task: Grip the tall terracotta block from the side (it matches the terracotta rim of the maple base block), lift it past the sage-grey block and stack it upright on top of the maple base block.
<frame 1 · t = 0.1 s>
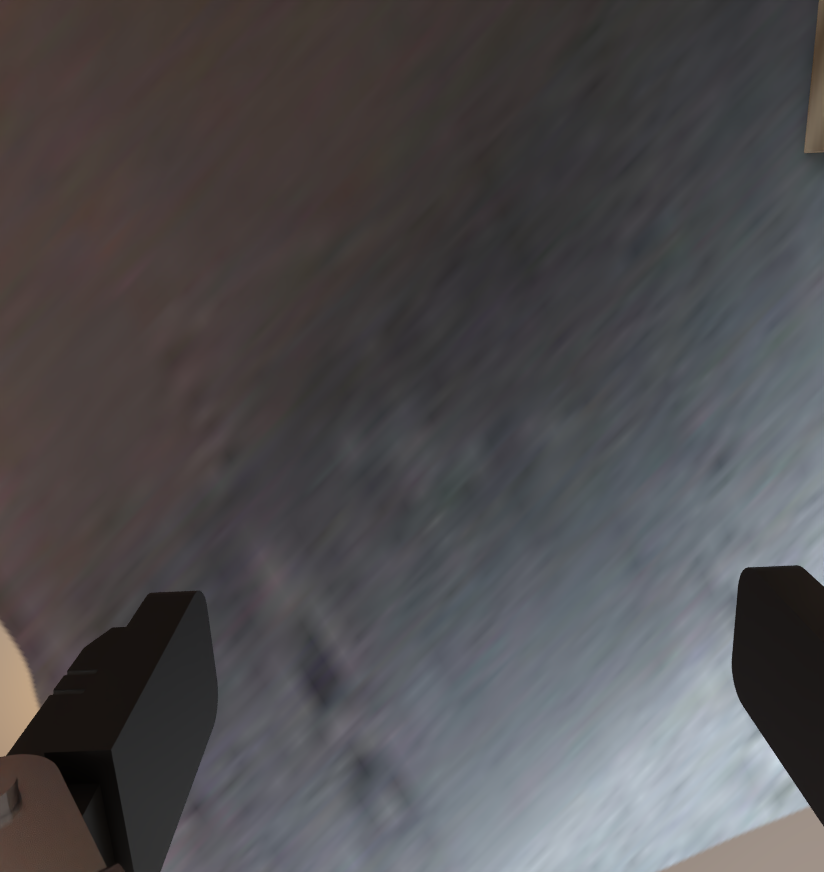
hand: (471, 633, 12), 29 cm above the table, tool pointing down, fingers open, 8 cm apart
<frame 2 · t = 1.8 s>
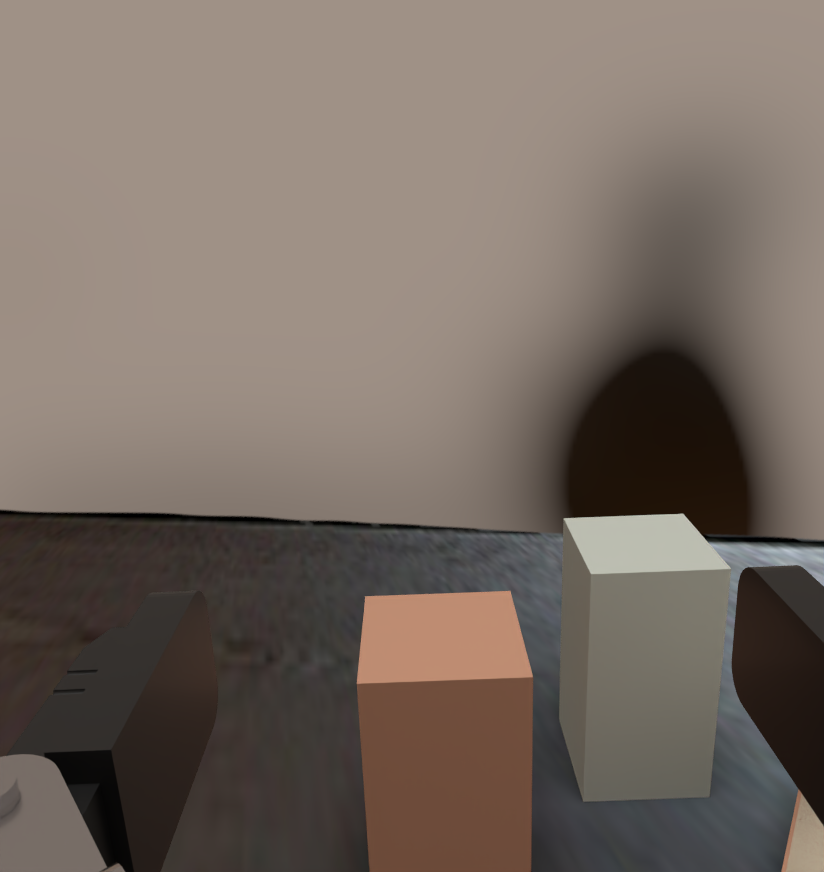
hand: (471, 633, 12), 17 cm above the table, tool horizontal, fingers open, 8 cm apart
sage block: (628, 755, 33), on the table
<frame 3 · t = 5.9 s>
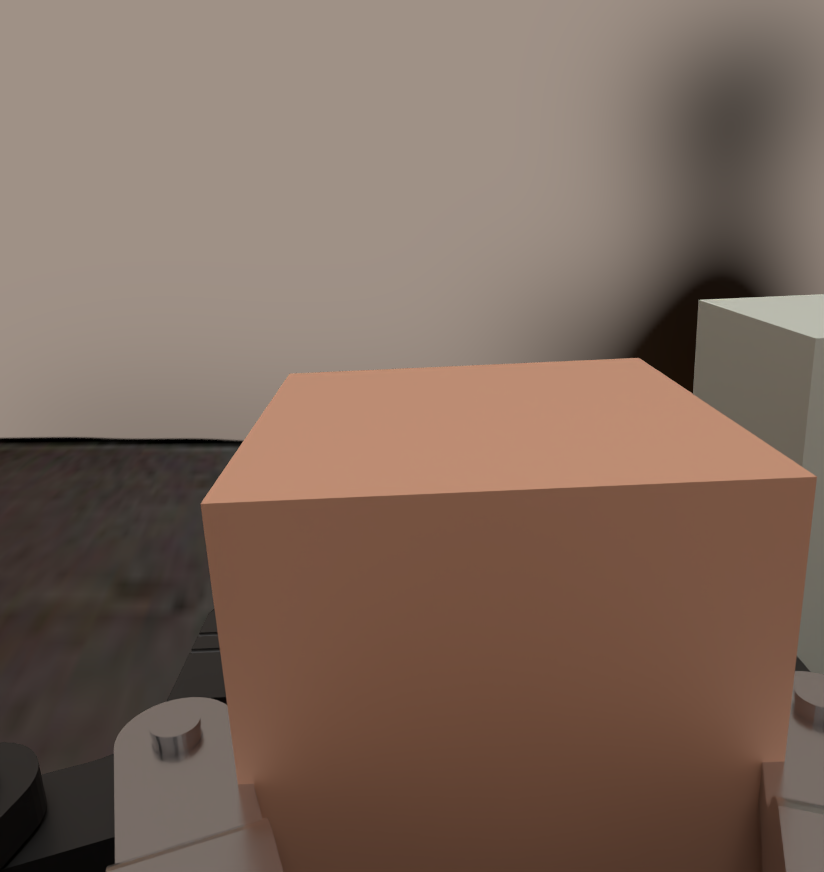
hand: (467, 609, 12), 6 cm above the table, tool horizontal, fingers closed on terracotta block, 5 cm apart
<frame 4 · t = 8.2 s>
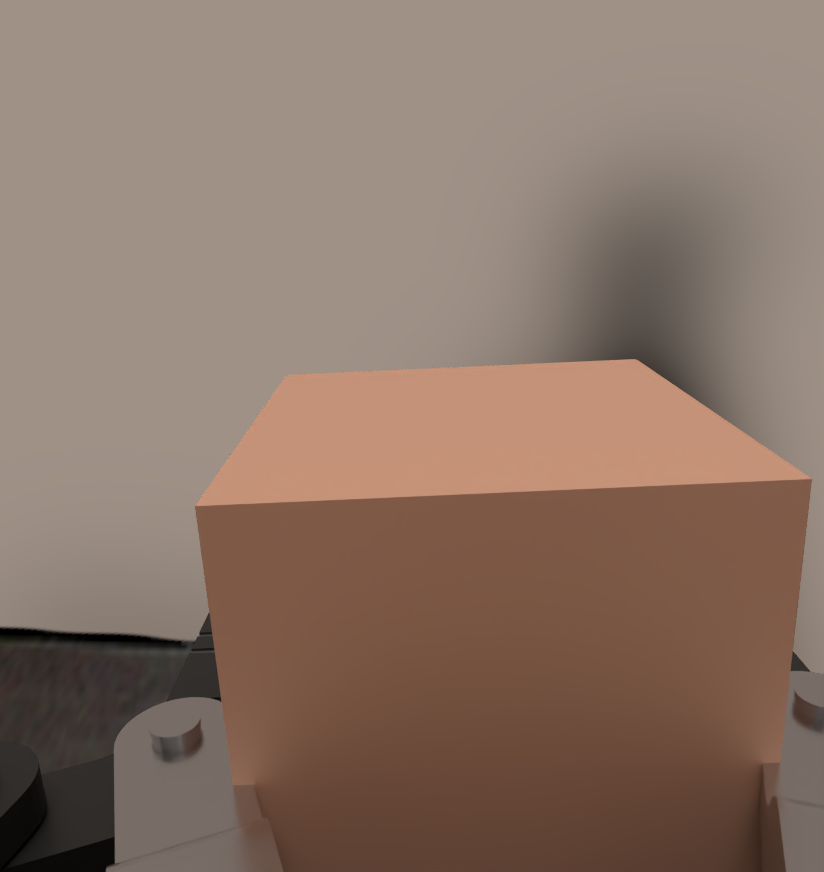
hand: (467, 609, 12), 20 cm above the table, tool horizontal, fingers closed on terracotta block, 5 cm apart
when the fingers open (12 cm above the table, at t = 10.6 s): terracotta block drops 1 cm, resting on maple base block.
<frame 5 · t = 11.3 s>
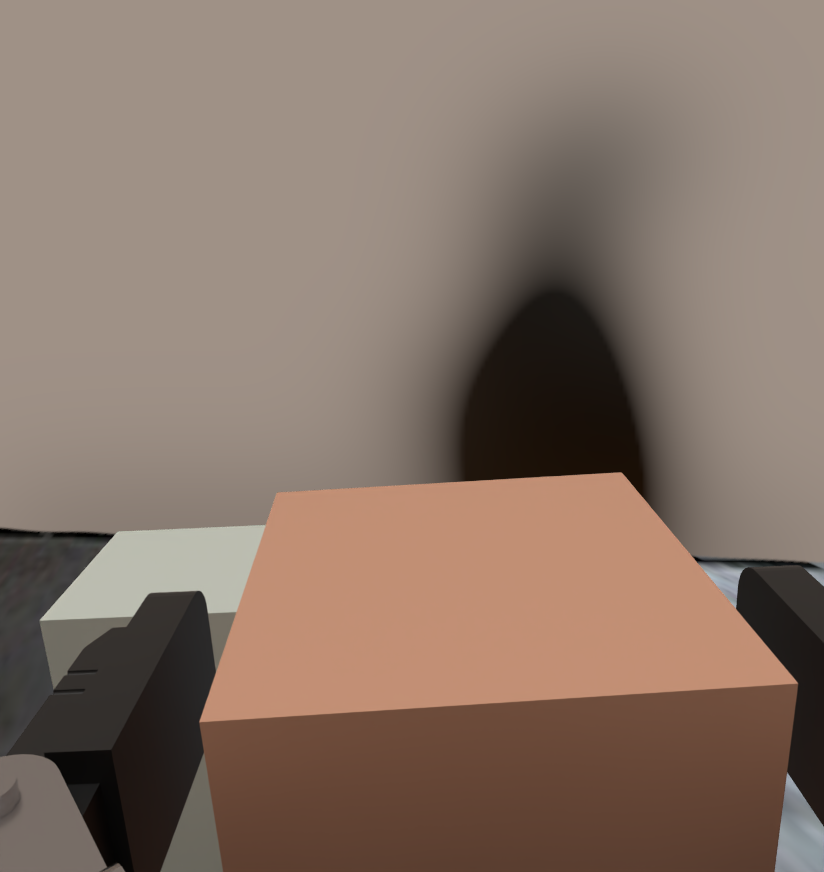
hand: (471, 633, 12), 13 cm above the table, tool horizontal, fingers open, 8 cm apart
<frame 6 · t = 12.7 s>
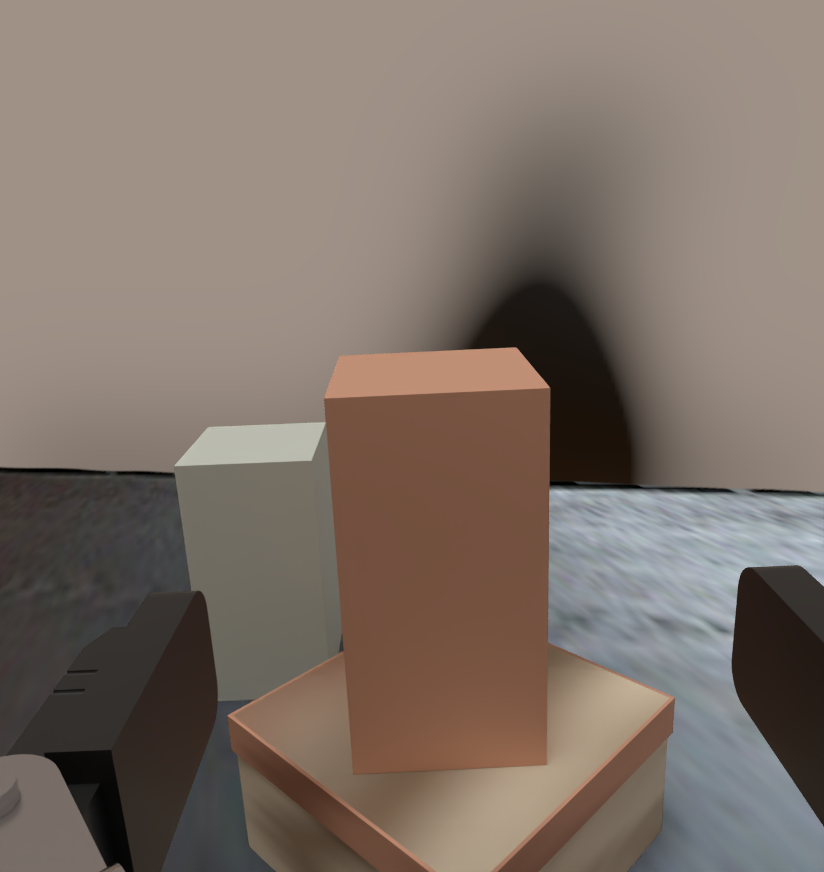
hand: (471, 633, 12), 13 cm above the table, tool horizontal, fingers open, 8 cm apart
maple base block: (455, 844, 24), on the table, touching terracotta block
sage block: (279, 663, 33), on the table
terracotta block: (444, 709, 22), point 5 cm above the table, touching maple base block
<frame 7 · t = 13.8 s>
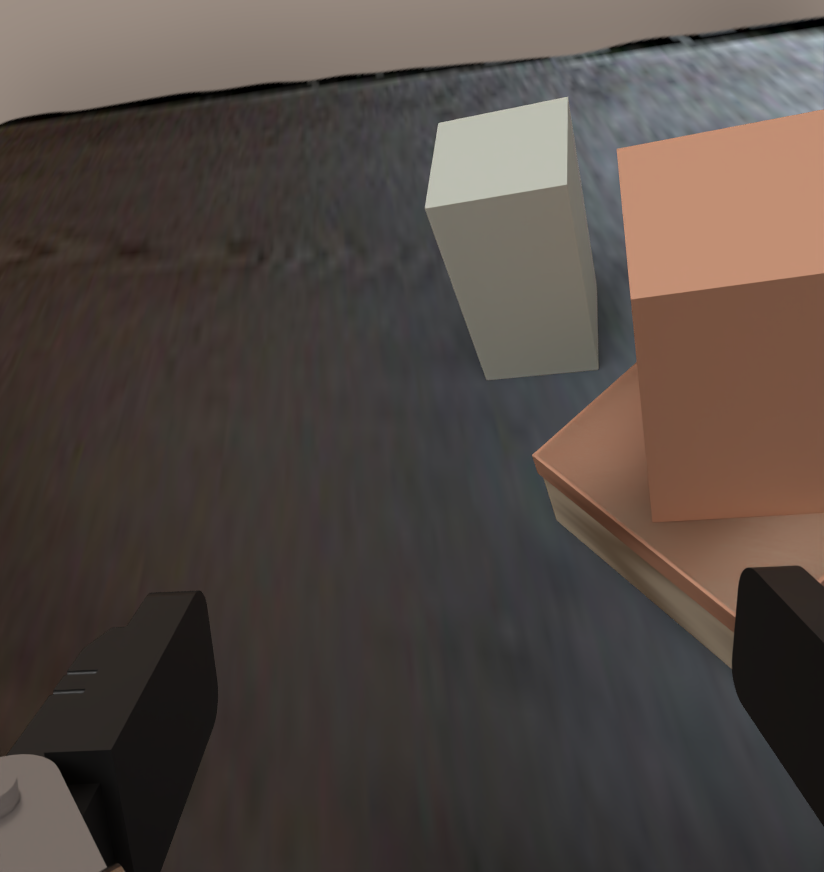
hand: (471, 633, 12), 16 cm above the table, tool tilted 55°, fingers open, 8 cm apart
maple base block: (731, 516, 28), on the table, touching terracotta block
sage block: (542, 332, 36), on the table
terracotta block: (727, 447, 25), point 5 cm above the table, touching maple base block
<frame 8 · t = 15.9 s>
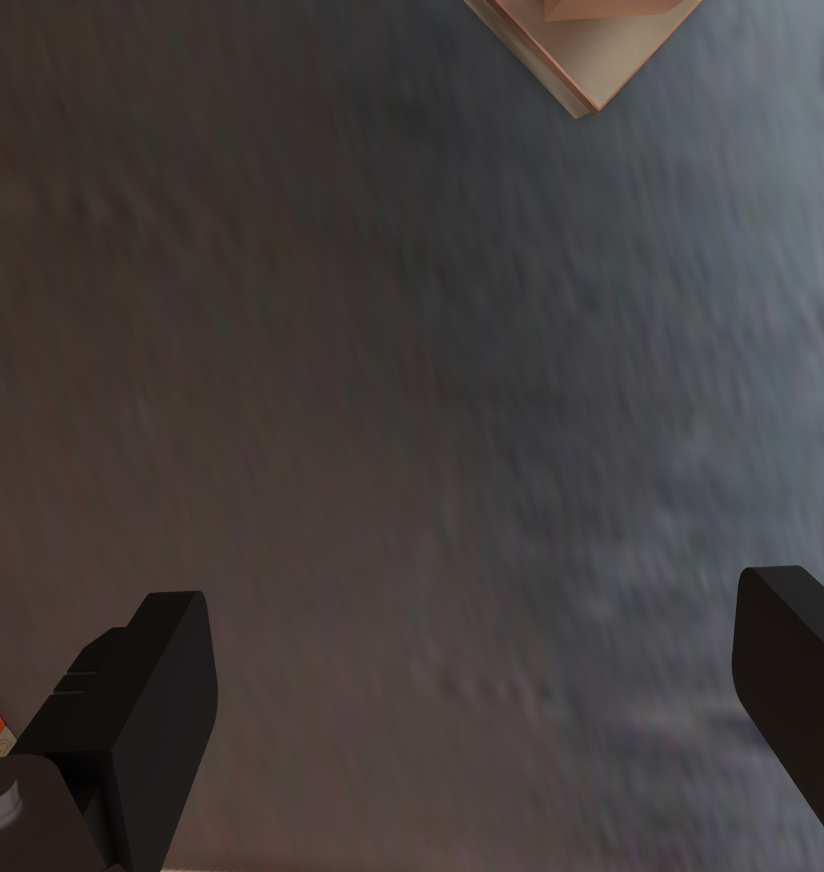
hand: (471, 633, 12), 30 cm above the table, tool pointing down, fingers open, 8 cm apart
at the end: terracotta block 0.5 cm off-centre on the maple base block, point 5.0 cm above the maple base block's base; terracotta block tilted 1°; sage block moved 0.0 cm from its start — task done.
